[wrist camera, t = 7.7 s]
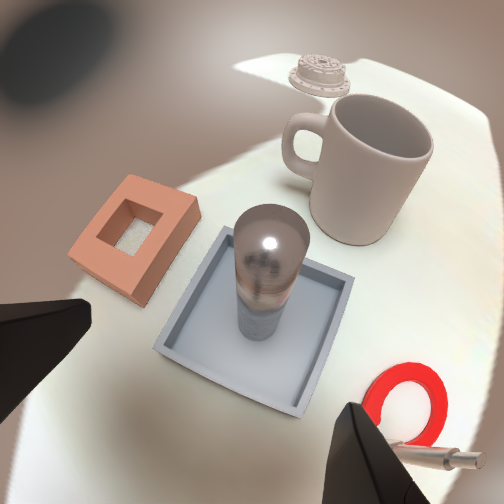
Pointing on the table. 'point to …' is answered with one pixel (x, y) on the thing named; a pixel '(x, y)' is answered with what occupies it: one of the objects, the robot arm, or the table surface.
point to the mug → (360, 164)
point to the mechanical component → (320, 76)
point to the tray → (248, 351)
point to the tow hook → (420, 447)
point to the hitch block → (154, 246)
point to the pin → (266, 265)
